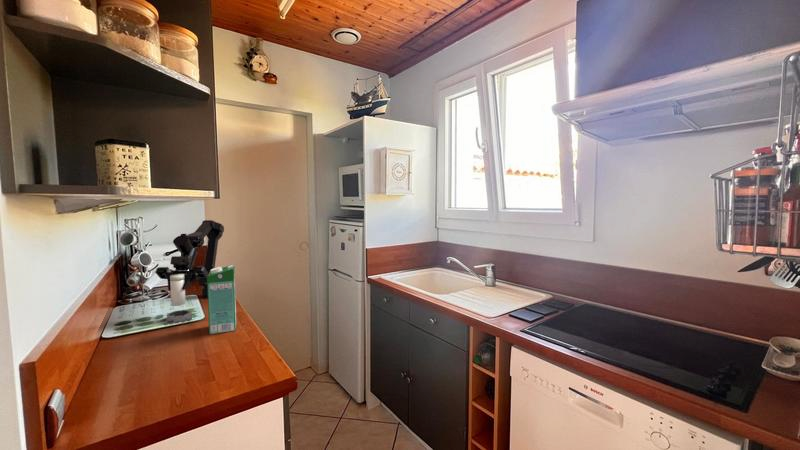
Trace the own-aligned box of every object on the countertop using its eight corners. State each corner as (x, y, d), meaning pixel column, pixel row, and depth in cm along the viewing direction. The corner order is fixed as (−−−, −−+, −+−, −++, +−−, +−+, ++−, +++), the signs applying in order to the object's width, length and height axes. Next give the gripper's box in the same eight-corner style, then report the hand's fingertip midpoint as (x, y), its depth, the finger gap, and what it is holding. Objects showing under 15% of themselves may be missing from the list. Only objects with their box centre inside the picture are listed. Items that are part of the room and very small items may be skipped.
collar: (191, 314, 145) (191, 308, 145) (191, 320, 138) (191, 314, 138) (167, 318, 140) (166, 312, 140) (165, 325, 133) (165, 318, 133)
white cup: (183, 301, 142) (182, 273, 141) (187, 304, 139) (186, 275, 138) (169, 304, 138) (168, 275, 137) (173, 306, 135) (172, 277, 134)
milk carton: (211, 325, 133) (209, 265, 131) (236, 322, 136) (234, 263, 134) (209, 334, 125) (206, 270, 122) (235, 330, 128) (233, 268, 126)
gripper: (156, 248, 139) (142, 280, 129) (204, 248, 142) (193, 279, 132) (167, 263, 147) (154, 294, 137) (211, 262, 150) (202, 292, 140)
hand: (176, 289), depth 137 cm, fingers closed on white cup, 5 cm apart
